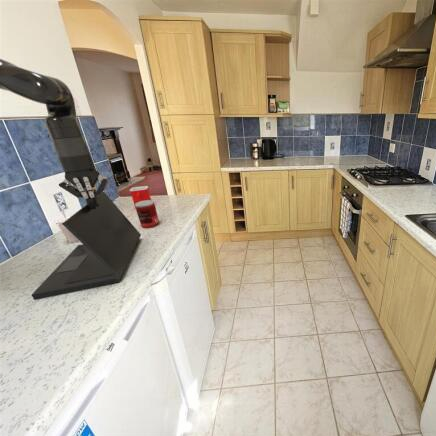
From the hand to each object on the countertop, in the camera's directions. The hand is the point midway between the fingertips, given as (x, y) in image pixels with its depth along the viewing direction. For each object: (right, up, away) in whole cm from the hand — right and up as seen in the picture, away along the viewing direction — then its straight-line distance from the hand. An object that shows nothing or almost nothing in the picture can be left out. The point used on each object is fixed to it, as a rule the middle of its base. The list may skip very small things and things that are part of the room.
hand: (95, 208), depth 78 cm
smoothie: (-28, -13, +24) cm, 39 cm away
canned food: (-3, -6, +36) cm, 37 cm away
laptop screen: (+1, -8, +4) cm, 9 cm away
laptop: (-5, -19, +7) cm, 21 cm away
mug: (-20, +3, +58) cm, 62 cm away
